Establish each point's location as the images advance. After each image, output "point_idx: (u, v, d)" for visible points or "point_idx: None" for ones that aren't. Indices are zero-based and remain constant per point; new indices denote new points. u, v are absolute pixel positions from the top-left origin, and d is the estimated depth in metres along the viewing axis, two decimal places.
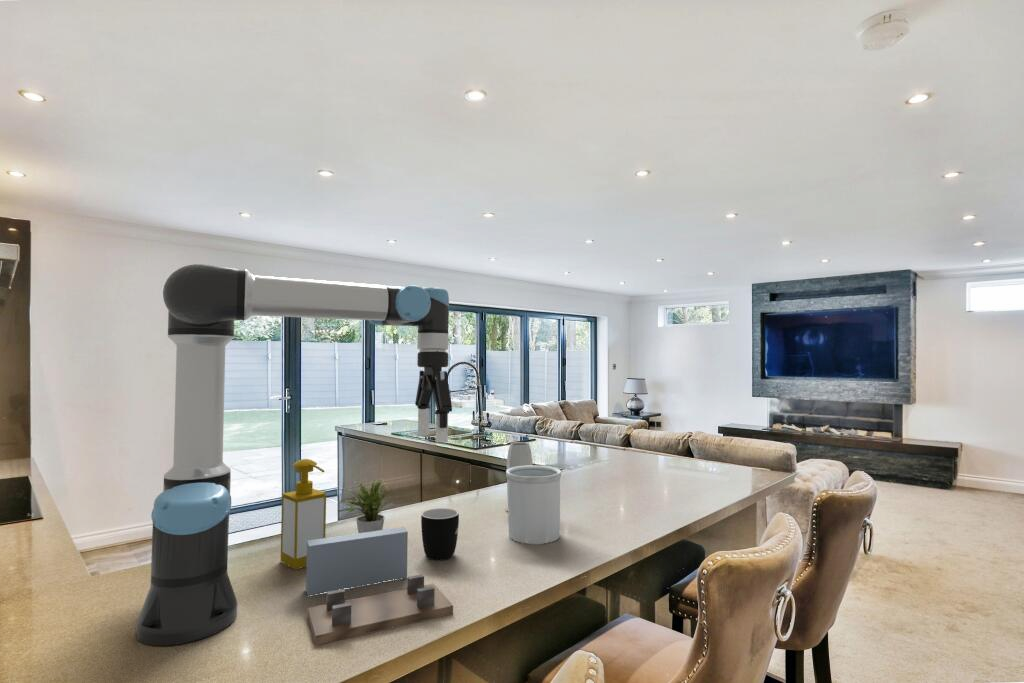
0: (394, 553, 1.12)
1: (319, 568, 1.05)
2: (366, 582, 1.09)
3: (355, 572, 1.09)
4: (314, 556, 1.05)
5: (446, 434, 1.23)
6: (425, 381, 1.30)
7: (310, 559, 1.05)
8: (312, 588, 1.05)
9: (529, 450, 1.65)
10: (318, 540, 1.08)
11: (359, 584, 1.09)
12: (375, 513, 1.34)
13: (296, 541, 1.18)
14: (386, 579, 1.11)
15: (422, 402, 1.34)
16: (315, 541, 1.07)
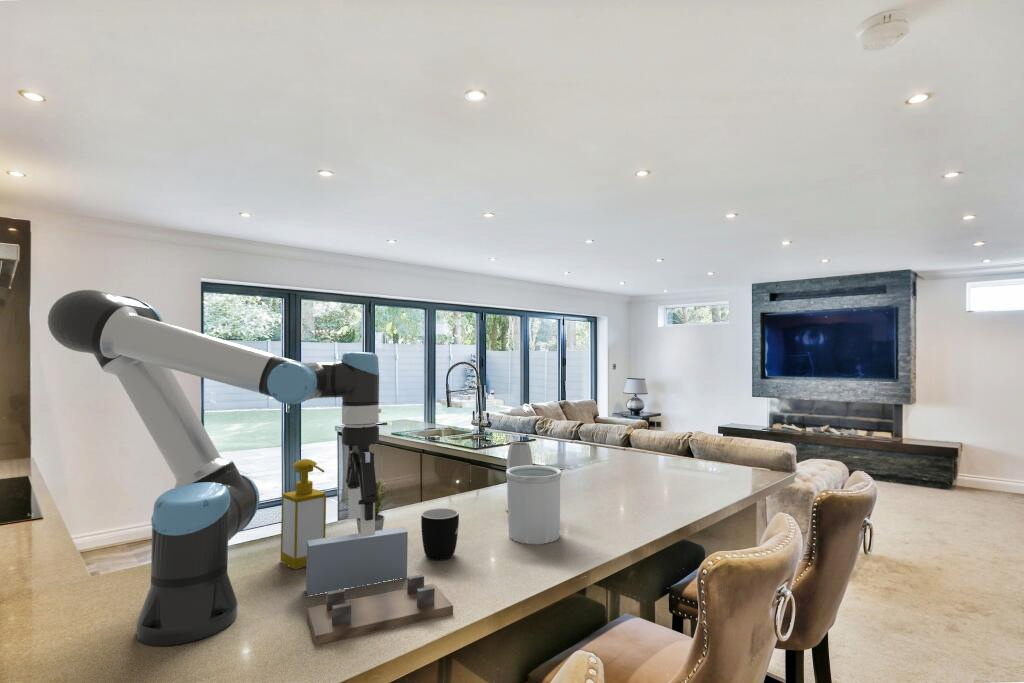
0: (394, 553, 1.12)
1: (319, 568, 1.05)
2: (366, 582, 1.09)
3: (355, 572, 1.09)
4: (315, 556, 1.05)
5: (373, 526, 1.05)
6: None
7: (310, 559, 1.05)
8: (312, 588, 1.05)
9: (529, 450, 1.65)
10: (318, 540, 1.08)
11: (359, 584, 1.09)
12: (375, 513, 1.34)
13: (296, 541, 1.18)
14: (386, 579, 1.11)
15: (352, 481, 1.16)
16: (315, 541, 1.07)
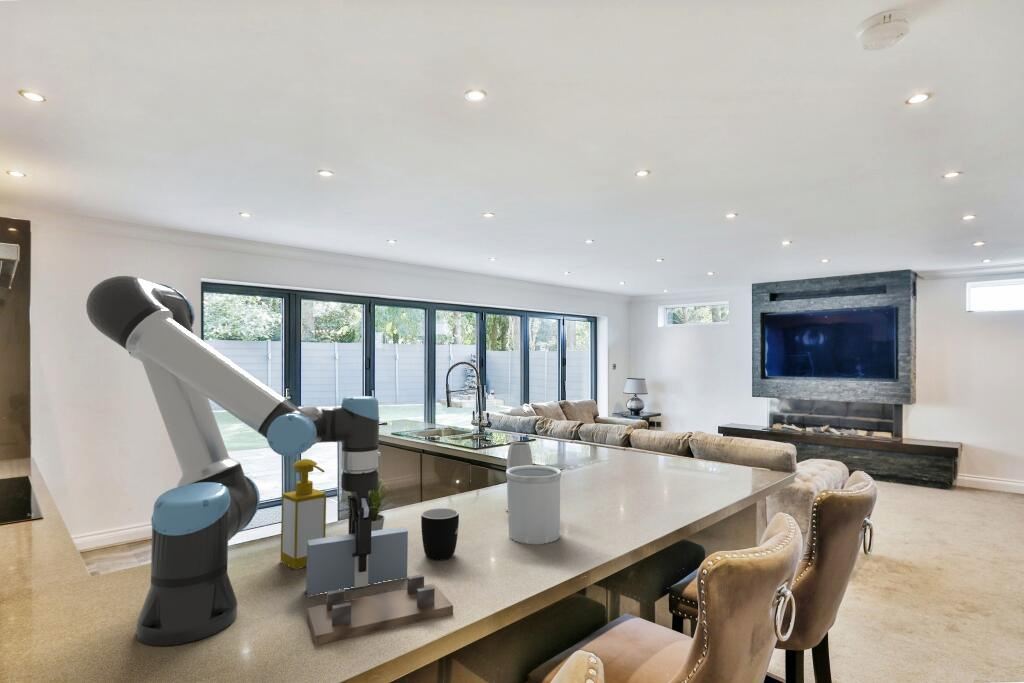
0: (394, 553, 1.12)
1: (319, 568, 1.05)
2: None
3: None
4: (315, 555, 1.05)
5: (366, 577, 1.09)
6: None
7: (310, 558, 1.05)
8: (312, 587, 1.05)
9: (529, 450, 1.65)
10: (318, 539, 1.08)
11: None
12: (375, 513, 1.34)
13: (296, 541, 1.18)
14: (386, 579, 1.11)
15: None
16: (315, 540, 1.07)
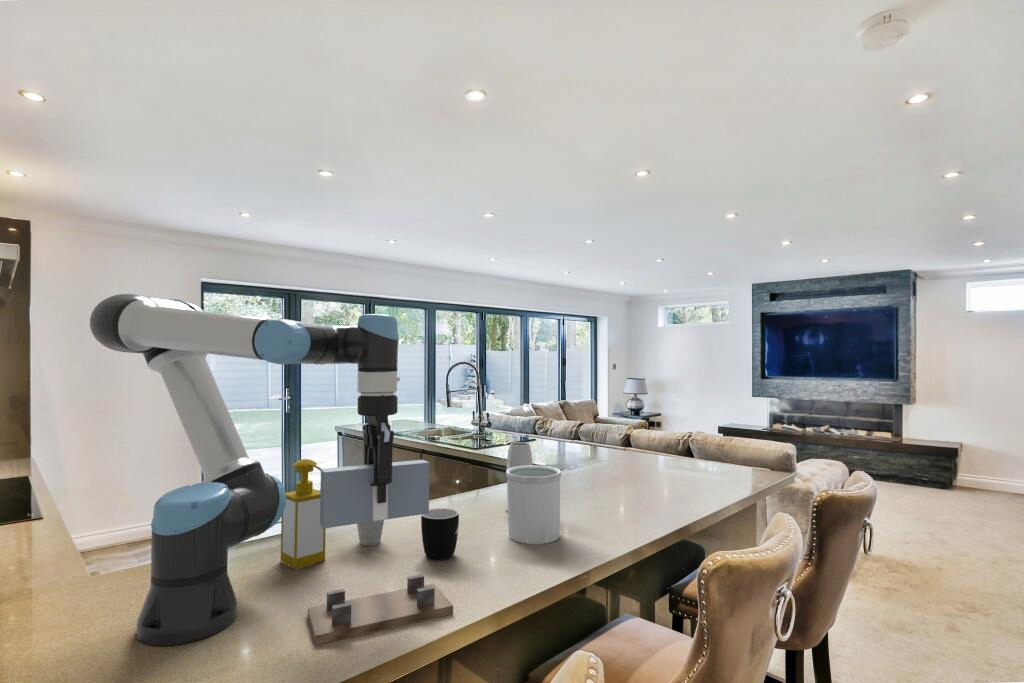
0: (415, 485, 1.03)
1: (335, 497, 0.96)
2: None
3: None
4: (330, 483, 0.96)
5: (385, 510, 1.00)
6: None
7: (325, 487, 0.95)
8: (328, 518, 0.95)
9: (529, 450, 1.65)
10: (333, 468, 0.98)
11: None
12: None
13: (296, 541, 1.18)
14: (407, 513, 1.02)
15: None
16: (330, 469, 0.98)
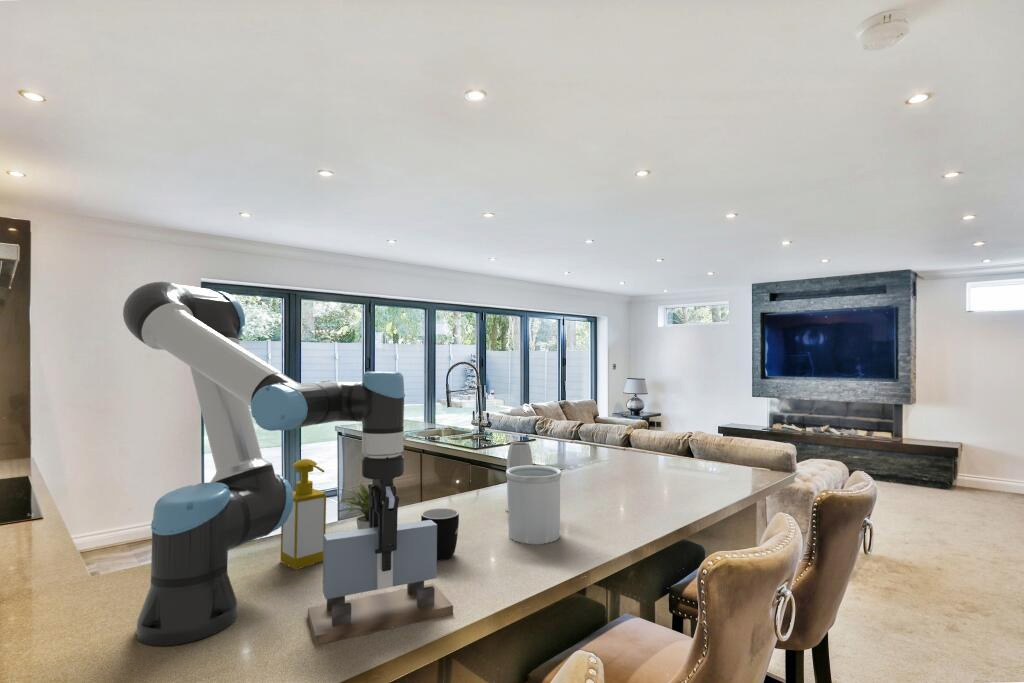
0: (422, 549, 0.99)
1: (338, 566, 0.92)
2: None
3: None
4: (333, 552, 0.92)
5: (391, 577, 0.95)
6: None
7: (328, 555, 0.91)
8: (330, 589, 0.91)
9: (529, 450, 1.65)
10: (336, 534, 0.94)
11: None
12: None
13: (296, 541, 1.18)
14: (413, 579, 0.98)
15: None
16: (333, 535, 0.94)
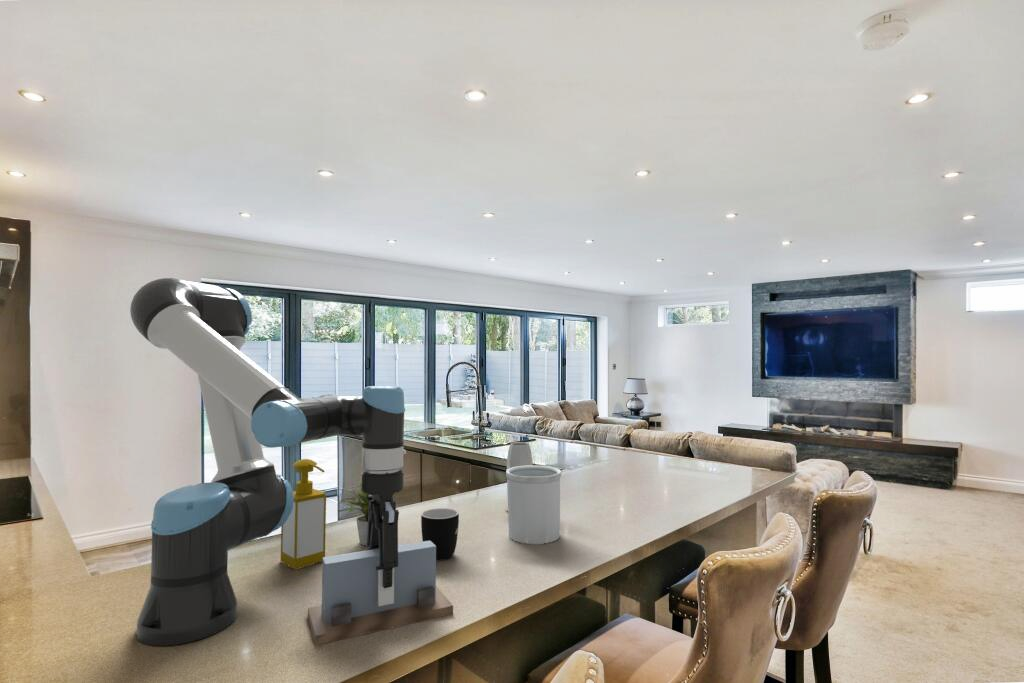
0: (421, 571, 0.99)
1: (337, 590, 0.92)
2: (390, 604, 0.96)
3: None
4: (332, 575, 0.91)
5: (392, 593, 0.94)
6: None
7: (327, 579, 0.91)
8: (329, 612, 0.91)
9: (529, 450, 1.65)
10: (335, 557, 0.94)
11: (382, 607, 0.95)
12: None
13: (296, 541, 1.18)
14: (412, 601, 0.98)
15: (374, 542, 1.00)
16: (332, 558, 0.94)
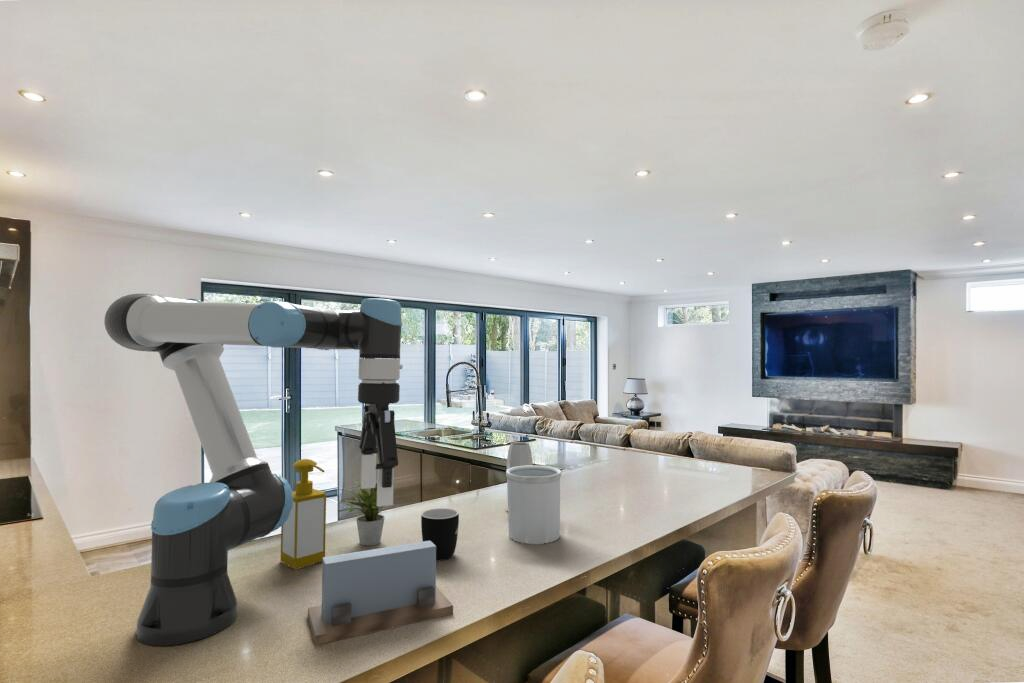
0: (421, 571, 0.99)
1: (337, 590, 0.92)
2: (390, 604, 0.96)
3: (378, 594, 0.95)
4: (332, 575, 0.91)
5: (391, 495, 0.92)
6: (368, 421, 0.99)
7: (327, 579, 0.91)
8: (329, 612, 0.91)
9: (529, 450, 1.65)
10: (335, 557, 0.94)
11: (382, 607, 0.95)
12: (375, 513, 1.34)
13: (296, 541, 1.18)
14: (412, 601, 0.98)
15: (367, 446, 1.03)
16: (332, 558, 0.94)
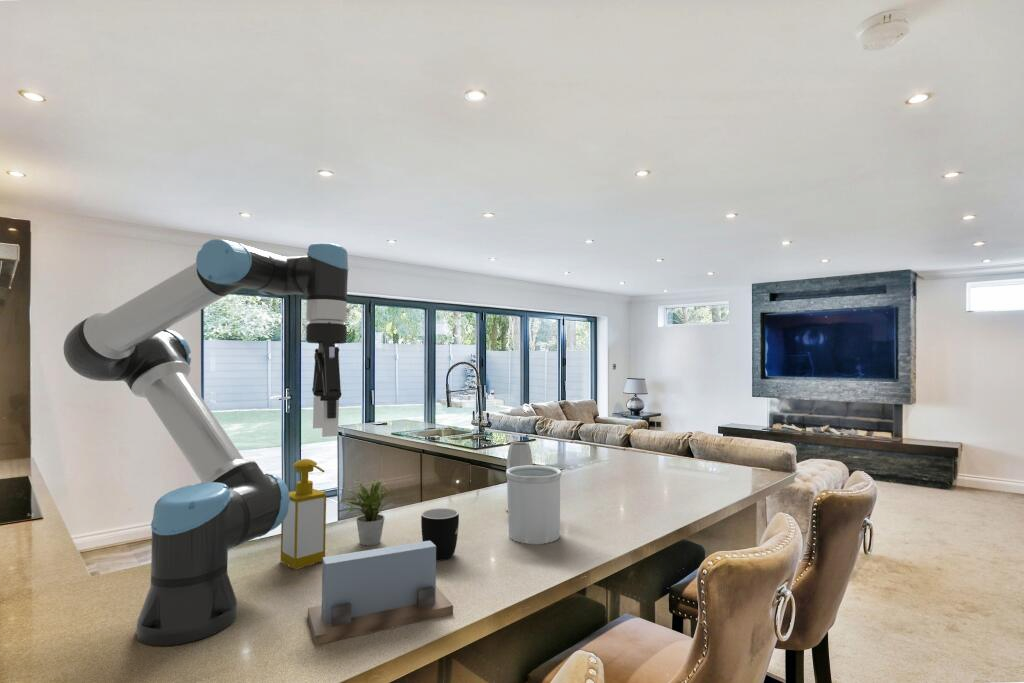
0: (421, 571, 0.99)
1: (337, 590, 0.92)
2: (390, 604, 0.96)
3: (378, 594, 0.95)
4: (332, 575, 0.91)
5: (336, 426, 0.97)
6: None
7: (327, 579, 0.91)
8: (329, 612, 0.91)
9: (529, 450, 1.65)
10: (335, 557, 0.94)
11: (382, 607, 0.95)
12: (375, 513, 1.34)
13: (296, 541, 1.18)
14: (412, 601, 0.98)
15: (318, 388, 1.08)
16: (332, 558, 0.94)
